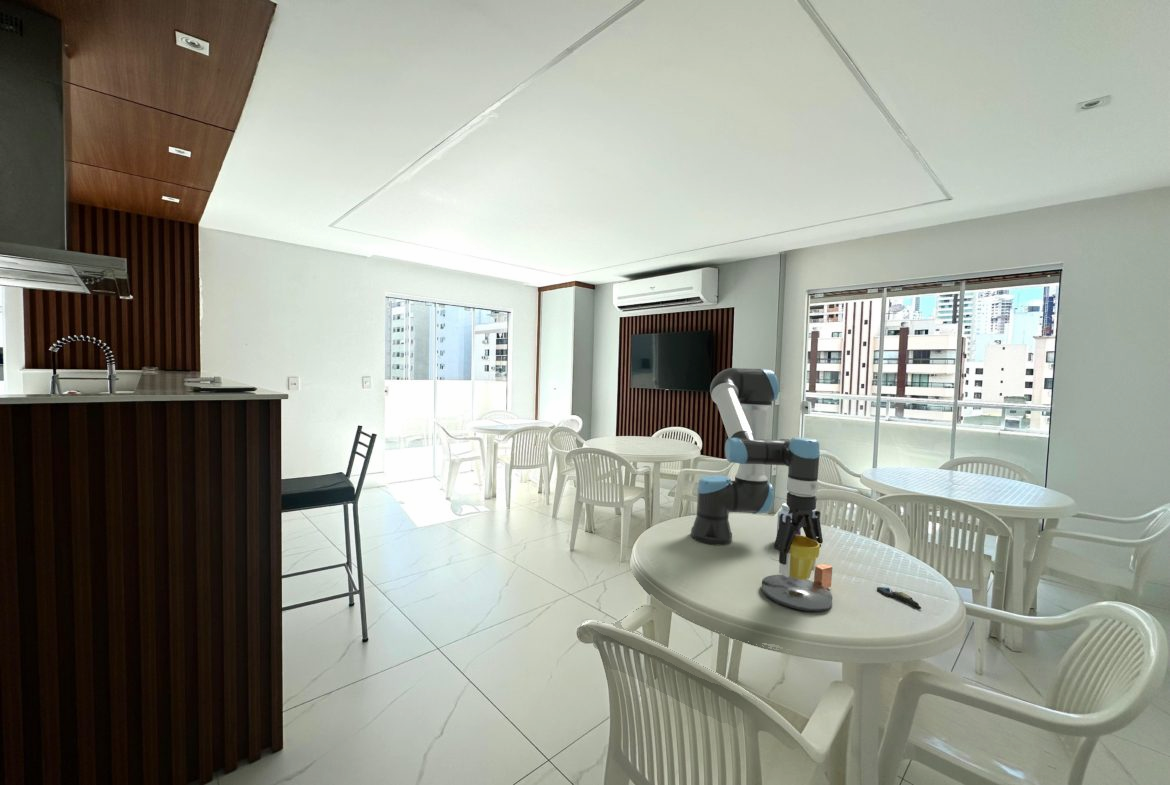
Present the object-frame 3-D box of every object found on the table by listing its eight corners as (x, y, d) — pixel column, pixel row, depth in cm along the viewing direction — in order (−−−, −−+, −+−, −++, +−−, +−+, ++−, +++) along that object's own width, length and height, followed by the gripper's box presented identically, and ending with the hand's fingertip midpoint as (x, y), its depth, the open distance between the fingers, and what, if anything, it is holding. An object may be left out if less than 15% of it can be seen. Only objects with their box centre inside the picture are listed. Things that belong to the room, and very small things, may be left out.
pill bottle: (804, 547, 163) (806, 508, 163) (781, 546, 164) (784, 507, 163) (793, 539, 172) (796, 502, 171) (772, 538, 172) (775, 501, 171)
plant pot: (822, 585, 120) (825, 549, 119) (781, 580, 122) (783, 544, 121) (811, 569, 130) (813, 535, 129) (773, 564, 132) (775, 532, 132)
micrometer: (874, 584, 133) (890, 584, 133) (874, 591, 133) (890, 590, 133) (908, 604, 121) (924, 604, 121) (907, 611, 121) (924, 611, 121)
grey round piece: (747, 586, 130) (748, 565, 130) (800, 572, 141) (801, 553, 140) (803, 617, 114) (804, 594, 114) (857, 599, 125) (859, 578, 124)
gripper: (785, 500, 116) (781, 584, 117) (840, 493, 127) (835, 570, 128) (762, 493, 123) (757, 573, 124) (815, 487, 134) (811, 560, 134)
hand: (797, 571), depth 126 cm, fingers closed on plant pot, 10 cm apart
